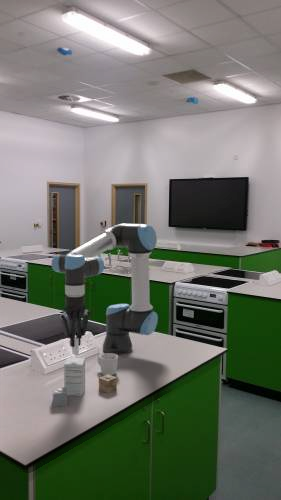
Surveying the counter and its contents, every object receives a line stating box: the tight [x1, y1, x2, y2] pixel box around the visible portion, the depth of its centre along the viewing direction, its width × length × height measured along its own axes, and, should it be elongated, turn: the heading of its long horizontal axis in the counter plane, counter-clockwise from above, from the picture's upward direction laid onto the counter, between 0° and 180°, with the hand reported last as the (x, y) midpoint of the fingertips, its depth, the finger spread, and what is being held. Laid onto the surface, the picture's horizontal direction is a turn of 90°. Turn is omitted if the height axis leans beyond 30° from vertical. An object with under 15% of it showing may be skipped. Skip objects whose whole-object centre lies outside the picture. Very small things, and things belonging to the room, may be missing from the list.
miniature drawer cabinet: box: [63, 357, 86, 397], centre depth 171 cm, size 7×7×13 cm
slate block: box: [52, 386, 68, 408], centre depth 162 cm, size 5×5×5 cm
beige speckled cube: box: [98, 374, 118, 394], centre depth 174 cm, size 5×5×5 cm
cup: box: [97, 352, 119, 376], centre depth 191 cm, size 11×8×8 cm
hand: (75, 353), depth 171 cm, fingers closed
